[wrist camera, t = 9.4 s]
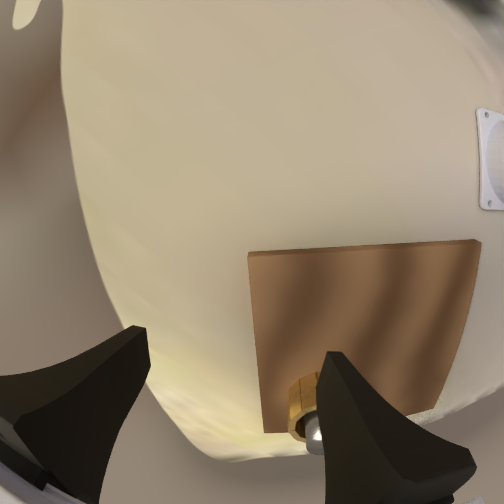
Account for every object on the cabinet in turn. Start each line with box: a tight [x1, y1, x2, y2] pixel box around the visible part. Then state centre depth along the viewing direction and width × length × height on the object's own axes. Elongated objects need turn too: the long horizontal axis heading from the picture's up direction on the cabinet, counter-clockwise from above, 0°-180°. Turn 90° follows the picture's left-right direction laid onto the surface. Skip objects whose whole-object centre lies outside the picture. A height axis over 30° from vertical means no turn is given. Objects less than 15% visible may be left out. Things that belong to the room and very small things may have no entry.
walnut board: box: [247, 239, 481, 433], centre depth 20 cm, size 18×18×1 cm
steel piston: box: [304, 410, 324, 455], centre depth 19 cm, size 3×3×6 cm
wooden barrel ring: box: [287, 372, 320, 443], centre depth 20 cm, size 5×5×4 cm
